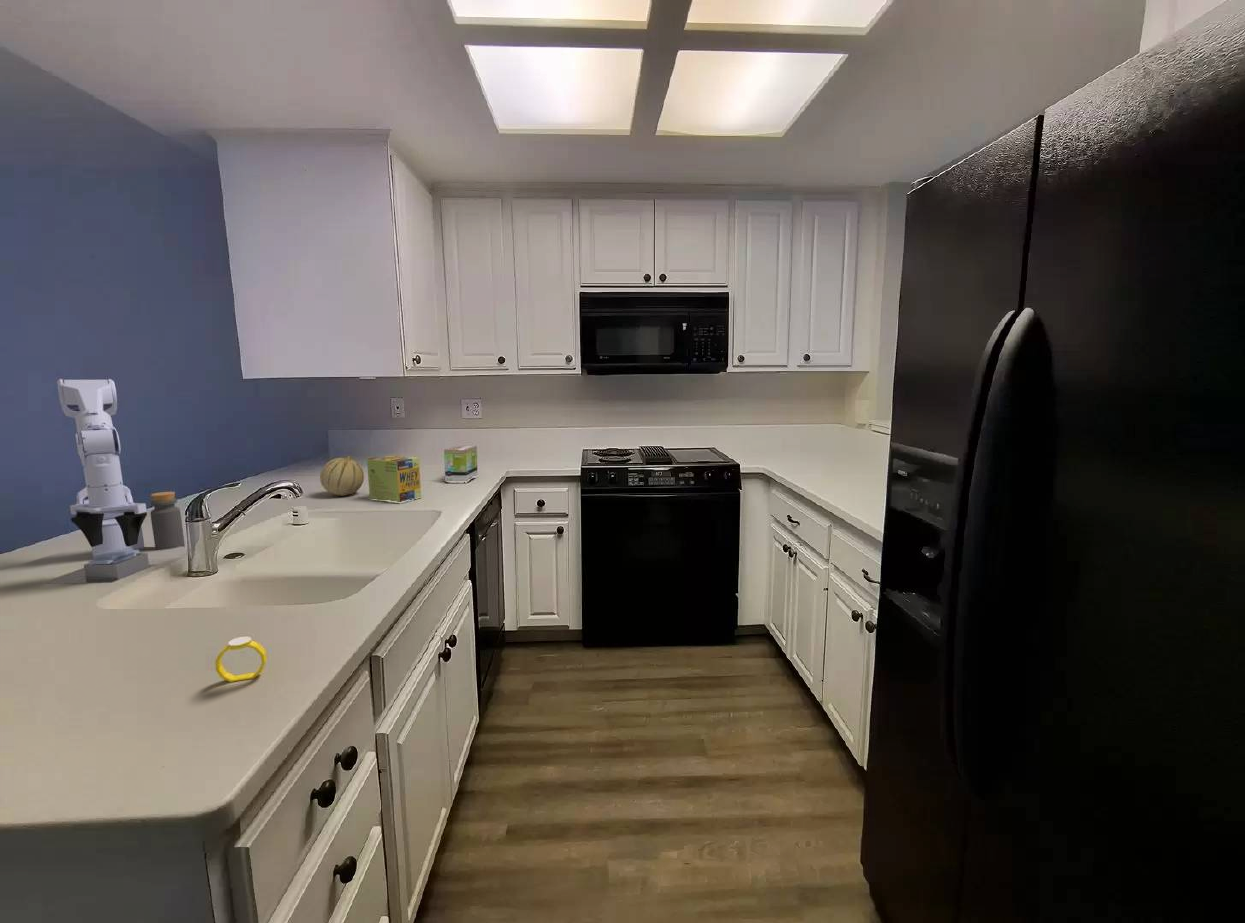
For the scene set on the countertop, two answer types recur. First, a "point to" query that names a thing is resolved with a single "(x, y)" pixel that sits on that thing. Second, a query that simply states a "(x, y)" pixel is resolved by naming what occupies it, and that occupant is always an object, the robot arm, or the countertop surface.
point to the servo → (113, 556)
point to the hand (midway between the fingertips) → (114, 545)
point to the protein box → (394, 478)
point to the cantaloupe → (342, 476)
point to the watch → (234, 645)
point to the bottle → (166, 521)
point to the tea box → (460, 463)
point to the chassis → (105, 571)
